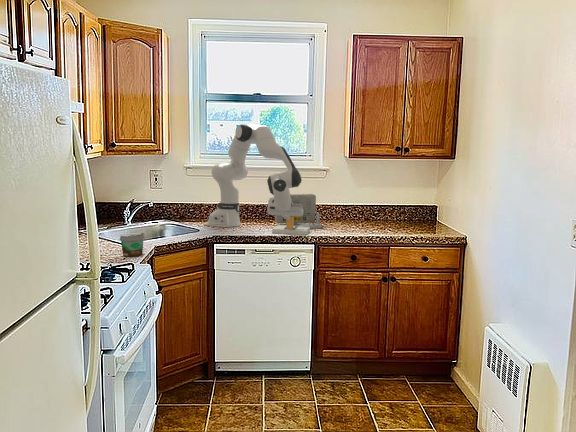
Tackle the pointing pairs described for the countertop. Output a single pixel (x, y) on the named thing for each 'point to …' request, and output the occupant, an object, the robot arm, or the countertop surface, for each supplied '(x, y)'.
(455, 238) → the countertop surface
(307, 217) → the network device
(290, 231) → the switch panel
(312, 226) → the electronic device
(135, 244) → the food container
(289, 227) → the switch tab
